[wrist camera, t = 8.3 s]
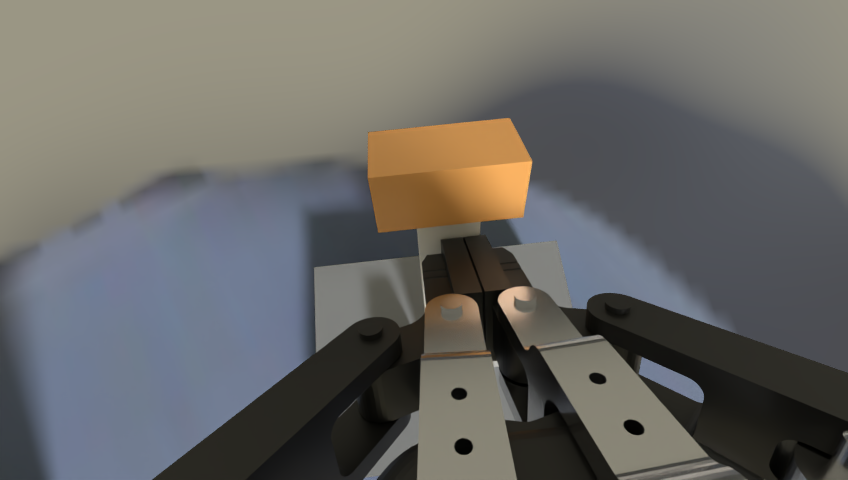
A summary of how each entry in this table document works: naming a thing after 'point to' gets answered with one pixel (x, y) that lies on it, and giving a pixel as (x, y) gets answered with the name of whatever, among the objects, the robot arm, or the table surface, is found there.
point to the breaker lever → (447, 179)
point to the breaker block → (411, 306)
